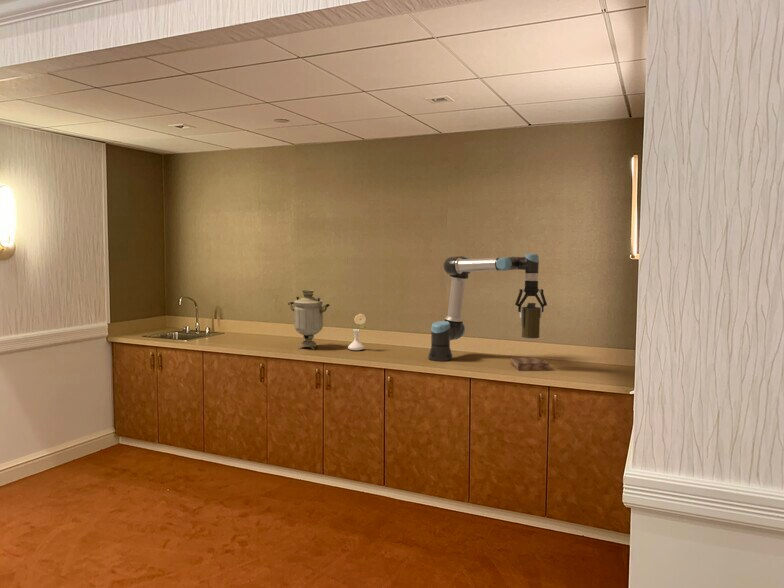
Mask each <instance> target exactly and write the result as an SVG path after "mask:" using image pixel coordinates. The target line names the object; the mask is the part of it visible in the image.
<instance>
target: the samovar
mask: <svg viewBox="0 0 784 588" xmlns="http://www.w3.org/2000/svg"><path fill="white" fill-rule="evenodd" d="M301 292H302V295H303V297H301V298H300V296H296V300H293V301H290V302H288V303H287V305H288V306H290V310H291V311H292V312H294V316H293V317H294V329H295V331H296V332H297V333H299V334H300V335H302V337H303V339H304V340H303V341H302V342H301V343H300V346H299V347H298V349H299V350H301V349H302V348H311V350H316V349H315V347H319V345H318V344H317V342H315V341H314V340H313V339H314V338H315V337H314V336H315V335H317V334H318V333H320V332H321V331H322V330H323V327H324V323H323V322H324V321H323V319H324V317H323V316H324V314H323V313H326V311H327V309H328V307H330V303H327V304H324V303H323V302H324V300H322V299H321V298H320V297H317V298H316V297H314V292H315V289H302V290H301ZM323 304H324V305H323Z"/></svg>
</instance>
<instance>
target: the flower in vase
mask: <svg viewBox="0 0 784 588" xmlns="http://www.w3.org/2000/svg"><path fill="white" fill-rule="evenodd" d="M353 320H354V322H355V324H357V325H358V327H357V326H356V325H353V324H352V326H353V327H354V328H355V329H352V332H353V336H354V340H353V341H352V342H351V343H350V344H349V345H348V346H347V349H348V350H350V351H362V350H364V349H365V348H366V347H365V346H364V344H363V343H361V342H360V341H359V332H360V329H364V328H366V326H365V325H364V324H366V321H367V317H366V316H365V314H363V313H358V314H357V315H355V317H354V319H353ZM359 328H360V329H359Z"/></svg>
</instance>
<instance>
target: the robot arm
mask: <svg viewBox="0 0 784 588" xmlns="http://www.w3.org/2000/svg"><path fill="white" fill-rule="evenodd" d="M539 257H540V256H539V254H537V253H526V254H525V256H506V257H505V256H504V257H489V258H486V257H485V258H484V257H483V258H469V257H467V256H464V255H459V256H458V255H457V256H449V257H448V258H446V259H445V260H444V263H443V270H444V272H445V273H446V274H448V275H449V277H450V278H451V282H450V283H451V284H450V292H449V301H448V307H447V308H448V309H447V310H448V311H447V316H445V317H444V320H439V321H437V320H436V321H434V322H433V323H432V324H431V329H430V331H431V338H430V339H431V340H430V341H431V345H430V346H431V347H430V350H429V352H428V355H427V357H428V360H430V361H433V362H448V361H452V360H453V353H452V350H451V346H450V345H451V341H454V340H458V339H460V338H462V337H463V336H464V335H465V332H466V327H465V324H464V320H463V318H462V312H463V304H464V303H463V302H464V295H465V294H464V293H465V287H466V281H467V280H468V279H469V274H470V273H471V272H473V273H474V272H495V271H496V272H498V271H499V272H501V271H502V272H503V271H505V272H507V271H515V270H517V271H518V270H519V271H520V270H521V271H524V280H525V281H524V288H523V289H522V288H519V290H518V295H517V298H516V300H515V302H514V303H515V304H514V305H515V306H516V307H518V308H517V311H518V313H519V319H522V307H523V304H524V303H525V301H526V300H527V298H528V297H535V299H536V300H537V302H538V303H539V308H540V319H542V318H543V317H542V315H543V313H544V309H545V308H544V307H545V306H547V305H548V304H547V300H546V297H545V294H544V289H543V288H539V281H538V280H539V264H540V263H539V262H540V261H539ZM523 293H524V295H523ZM538 293H539V294H540V296H541V298H540V297H539V295H538ZM522 296H523V297H522Z"/></svg>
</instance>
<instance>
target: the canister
mask: <svg viewBox="0 0 784 588" xmlns="http://www.w3.org/2000/svg"><path fill="white" fill-rule="evenodd" d="M521 307H522V318H521V324H520V326H521V338H525V339H540V337H541V336H540V323H541V321H540V320H541V318H540V308H539V307H537V306H536V303H534V302H527V305H526V306H521Z"/></svg>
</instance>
